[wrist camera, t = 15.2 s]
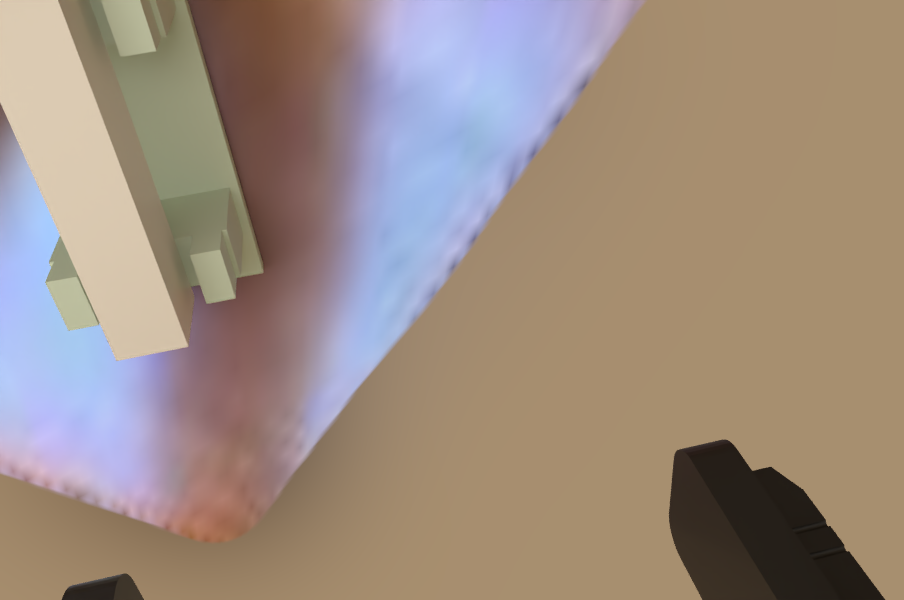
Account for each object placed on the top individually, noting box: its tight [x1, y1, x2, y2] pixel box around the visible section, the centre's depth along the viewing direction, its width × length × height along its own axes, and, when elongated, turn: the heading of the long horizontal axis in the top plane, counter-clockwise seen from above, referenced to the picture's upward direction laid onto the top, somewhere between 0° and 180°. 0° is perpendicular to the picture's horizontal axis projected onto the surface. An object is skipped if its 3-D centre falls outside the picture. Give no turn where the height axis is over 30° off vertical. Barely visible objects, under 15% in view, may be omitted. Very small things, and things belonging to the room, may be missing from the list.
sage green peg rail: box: [45, 0, 263, 331], centre depth 39 cm, size 22×10×8 cm, turn 6°
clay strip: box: [0, 0, 194, 361], centre depth 36 cm, size 18×4×4 cm, turn 6°
